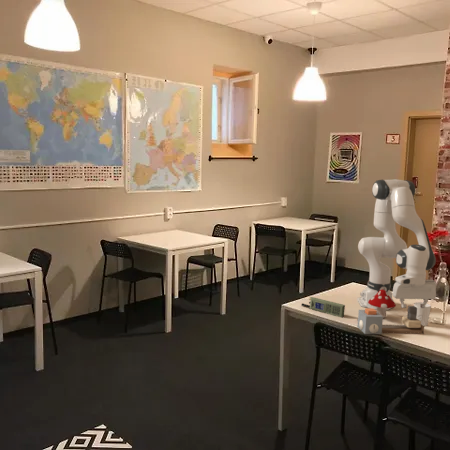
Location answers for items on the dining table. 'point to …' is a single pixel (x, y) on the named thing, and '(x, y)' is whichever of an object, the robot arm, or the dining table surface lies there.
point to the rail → (402, 329)
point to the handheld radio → (326, 307)
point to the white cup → (423, 313)
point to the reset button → (370, 311)
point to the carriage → (411, 318)
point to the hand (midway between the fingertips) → (413, 307)
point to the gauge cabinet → (370, 323)
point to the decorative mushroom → (382, 302)
